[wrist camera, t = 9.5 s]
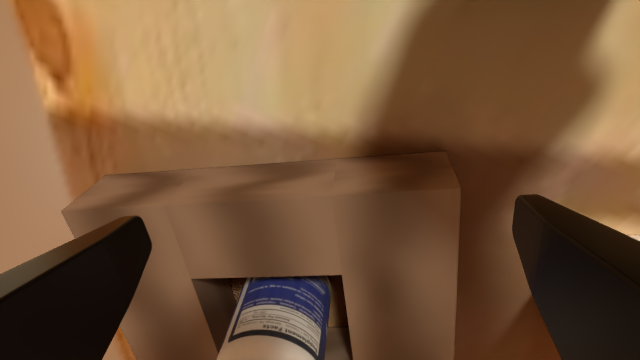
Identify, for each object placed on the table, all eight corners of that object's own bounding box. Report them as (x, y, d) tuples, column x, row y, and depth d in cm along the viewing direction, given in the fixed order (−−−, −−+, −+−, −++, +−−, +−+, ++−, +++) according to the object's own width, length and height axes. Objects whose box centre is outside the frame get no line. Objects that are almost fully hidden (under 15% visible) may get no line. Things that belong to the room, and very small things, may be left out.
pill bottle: (303, 324, 29) (275, 483, 20) (234, 287, 27) (172, 436, 19) (349, 277, 26) (340, 435, 17) (275, 233, 25) (225, 378, 16)
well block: (445, 150, 21) (461, 188, 18) (441, 372, 29) (451, 427, 26) (105, 175, 24) (60, 211, 21) (188, 369, 32) (167, 418, 29)
